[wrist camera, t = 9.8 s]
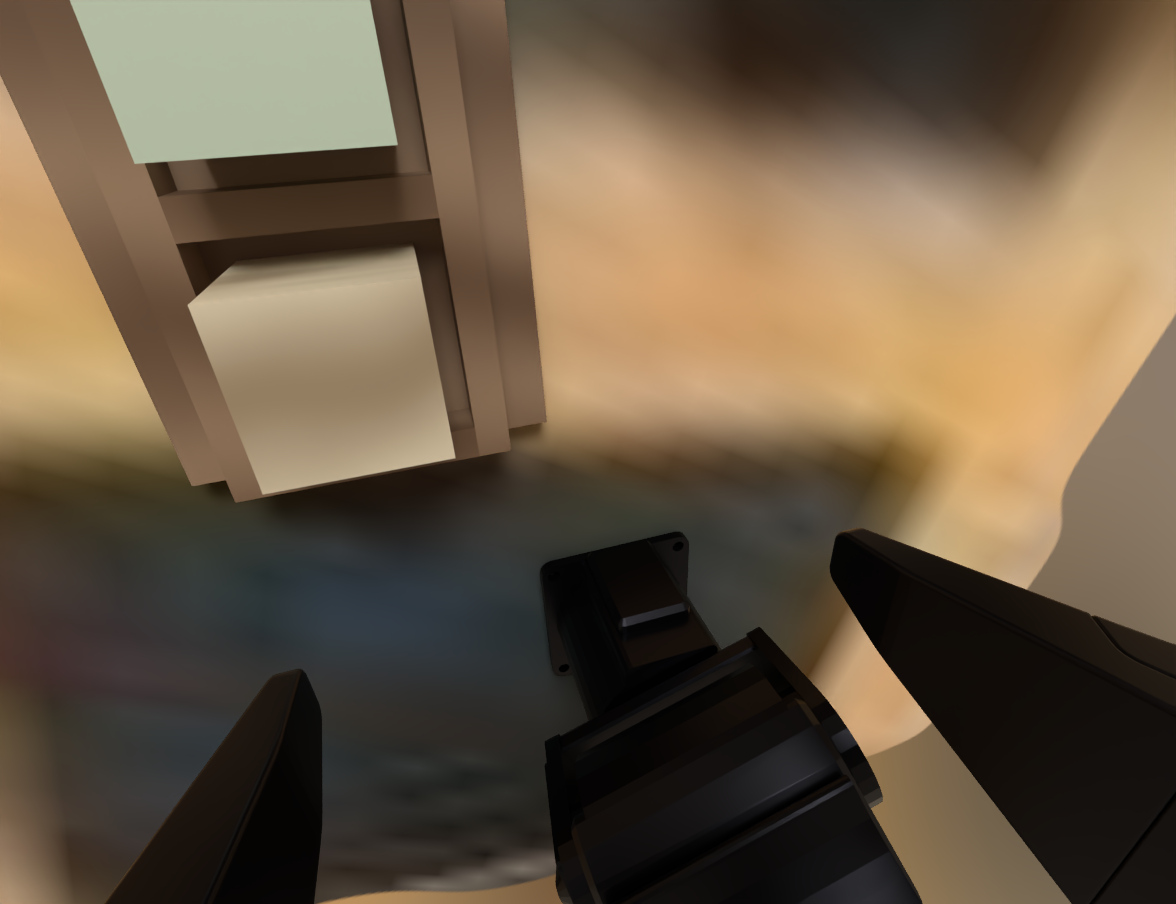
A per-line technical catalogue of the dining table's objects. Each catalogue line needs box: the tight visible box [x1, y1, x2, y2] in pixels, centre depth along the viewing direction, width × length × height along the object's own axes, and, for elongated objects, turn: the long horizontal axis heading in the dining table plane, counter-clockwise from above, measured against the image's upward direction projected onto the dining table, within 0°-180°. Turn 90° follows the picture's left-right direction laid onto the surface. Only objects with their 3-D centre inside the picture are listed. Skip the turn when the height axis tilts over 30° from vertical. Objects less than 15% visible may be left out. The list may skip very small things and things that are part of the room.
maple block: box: [188, 242, 455, 494], centre depth 15 cm, size 4×4×4 cm
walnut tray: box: [0, 0, 547, 503], centre depth 13 cm, size 22×11×2 cm, turn 3°
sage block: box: [70, 0, 398, 164], centre depth 12 cm, size 4×4×4 cm
